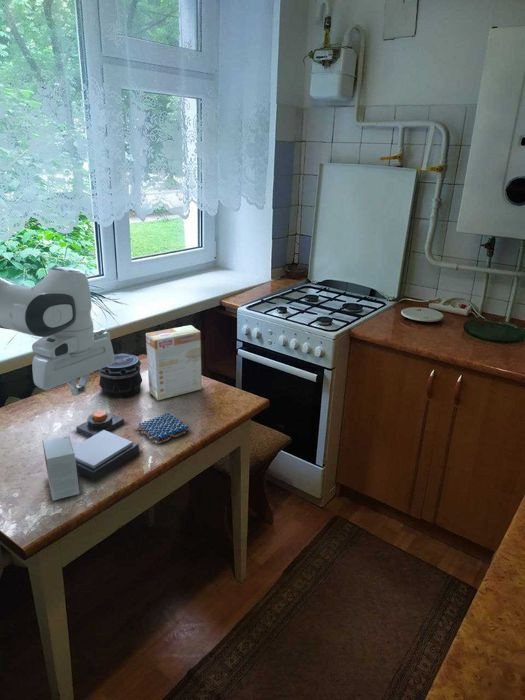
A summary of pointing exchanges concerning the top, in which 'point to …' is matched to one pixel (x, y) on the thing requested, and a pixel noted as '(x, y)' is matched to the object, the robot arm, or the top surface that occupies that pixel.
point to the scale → (102, 454)
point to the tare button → (99, 416)
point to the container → (121, 376)
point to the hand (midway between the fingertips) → (79, 393)
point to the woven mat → (163, 428)
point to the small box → (61, 467)
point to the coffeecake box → (174, 361)
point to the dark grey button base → (99, 425)
